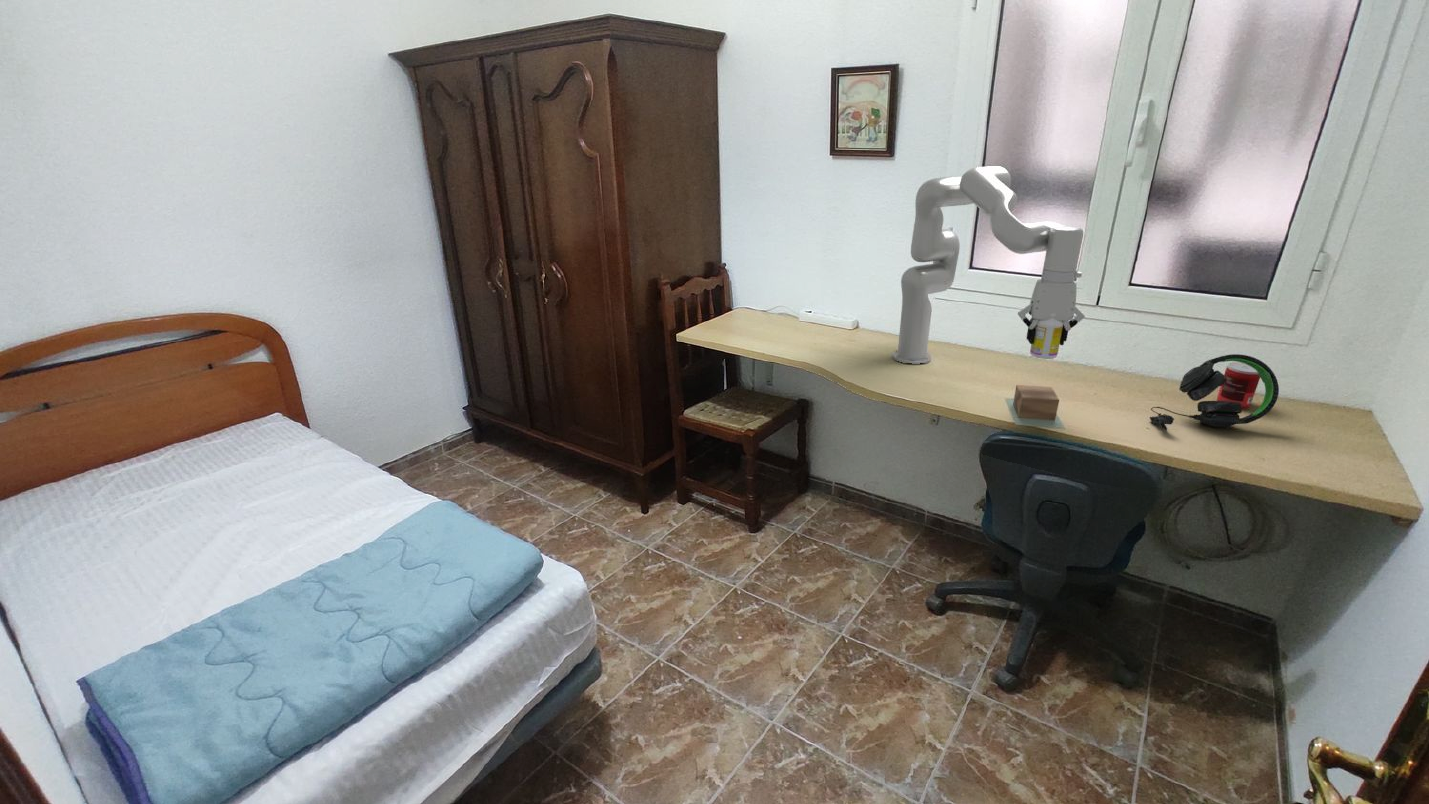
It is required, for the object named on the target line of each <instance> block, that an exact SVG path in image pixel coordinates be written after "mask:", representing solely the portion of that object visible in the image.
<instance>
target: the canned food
mask: <svg viewBox="0 0 1429 804" xmlns="http://www.w3.org/2000/svg"><path fill="white" fill-rule="evenodd" d="M1223 375H1224V376H1225V379H1226V382H1225V383H1224V384H1223V385H1222V386H1219V390H1218V393H1217V397H1216V401H1232V402H1239V403H1241V404H1242V410H1245V409H1249V408H1250V406H1251V405H1252V401H1253V399H1254V397H1255V393H1256V391H1257V389H1258V388H1257V387H1258V385H1259V382H1260V379H1261V378H1260V376H1259V374H1258V372H1257V371H1256V370H1255V369H1254V368H1252V367H1251V366H1249V365H1247V364H1244V363H1241V362H1237V361H1231V362H1229V363H1228V364H1227V365H1226V368H1225V371H1224V374H1223Z"/></svg>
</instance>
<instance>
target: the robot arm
mask: <svg viewBox="0 0 1429 804" xmlns="http://www.w3.org/2000/svg"><path fill="white" fill-rule="evenodd" d="M1011 183H1012V178H1011V175H1010V173H1009V171H1008V170H1007V169H1006V168H1004V167H1003V166H998V165H993V166H992V165H991V166H979V167H977V166H976V167H973V168H970V169H969V170H967V171H966V172H965V173H964V174H963V175H957V176H956V175H955V176H942V177H941V176H940V177H935V178H932V179H929V180H926V181H924V183H922V184H921V186H919V188H918V190H917V192H916V195H915V204H914V205H915V216H914V217H915V218H914V224H913V231H912V238H911V244H910V256H911V258H912V259H913V261H915V262H918V263H929V264H921V265H915V266H912V267H909V268H908V269H906V270H905V271H904V272H903V273H902V276H901V278H900V279H901V281H900V287H901V294H902V295H901V296H902V297H901V298H902V300H901V302H902V303H901V304H902V305H901V313H900V323H899V334H898V344H897V350H896V351H894V352H892V359H893V360H895V361H896V362H898V361H899V363H901V362H902V363H903V364H906V363H912V364H911V365H921V364H920V363H924V364H927V363H929V362H931V360H932V356H931V354H930V353H928V344H929V336H930V327H931V320H932V319H931V318H932V312H933V311H932V309H933V308H932V303H931V301H930V299H929V295H931V294H935V293H936V294H937V293H941V292H945V291H948V290H949V289H950V288H951V287H952V285H953V283H954V280H955V277H956V276H955V275H956V271H957V266H958V265H957V264H958V262H959V261H958V260H959V255H960V249H961V248H960V247H961V246H960V240H959V237H958V235H957V234H956V232H954V230H951V229H947V228H946V229H945V228H944V229H943V227H944V226H943V225H944V213H943V211H942V209H941V208H945V207H956V206H959V207H960V206H968V205H972V204H974V205H975V206H976V207H978V208H979V210H981V211H982V212H983V213H984V214H985V215H986V216H987V217H988V218H989V225H990V228H991V232H992V235H993V236H994V237H995V238H996V239H997V240H998V241H999V242H1000V243H1001V244H1002V245H1003V246H1004V247H1005V248H1006V249H1008V250H1009V251H1011V252H1012V253H1014V254H1018V255H1025V254H1033V253H1041V252H1045V256H1044V262H1043V267H1042V272H1041V278H1039V279H1037V280H1036V282H1035V286H1034V288H1033V291H1032V295H1031V298H1030V301H1029V304H1028V305H1027V306H1025V307H1023V309H1021V310H1019V311H1018V312H1017V315H1018V317H1019V318H1020V320H1022V322H1023V323H1024V324H1025V325H1026V326H1027V332H1026V340H1027V341H1028V343H1029V344H1030V345H1031V344H1033V343H1034V337H1035V332H1036V330H1035V326H1036V325H1037V323H1038V322H1039V320H1049V319H1051V318H1054V319H1055V320H1059V321H1063V329H1062V334H1061V339H1060V344H1059V346H1064V345H1065V342H1067V339H1068V333H1069V331H1070V330H1071V329H1072V328H1073V327H1075V326H1076V325H1078V323H1080V322H1081V321H1082V320H1084V319H1085V317H1086V316H1085V314H1084V313H1082V312H1081V311H1080V310H1079V308H1078V307H1076V304H1077V289H1078V288H1077V282H1076V279H1078V278H1079V279H1080V278H1081V277H1082V274H1083V273H1082V272H1081V271H1078V270H1077V269H1078V262H1079V258H1080V253H1081V248H1082V243H1083V239H1084V238H1083V237H1084V230H1083V228H1082V227H1078V226H1074V225H1063V224H1060V223H1058V222H1054V221H1050V220H1049V221H1048V220H1047V221H1046V220H1045V221H1039V222H1028V223H1024V222H1022V221H1020V219H1018V218H1017V217H1015V216H1014V215H1013V214H1012V211H1013V210H1014V208H1015V207H1016V205H1017V203H1018V196H1017V193H1016V192H1015V191H1013V190H1012V189H1010V188H1011ZM930 262H932V263H930ZM1052 313H1055V314H1056V316H1055V317H1051V316H1050V315H1051V314H1052ZM1027 314H1029V315H1030V316H1031V318H1030V319H1029V318H1028V317H1027ZM1074 315H1076V316H1075V317H1074Z"/></svg>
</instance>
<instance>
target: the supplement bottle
mask: <svg viewBox="0 0 1429 804" xmlns="http://www.w3.org/2000/svg"><path fill="white" fill-rule="evenodd" d="M1050 316H1051V317H1055V316H1056V314H1055V313H1052V314H1051V315H1050ZM1062 329H1063V321H1059V320H1055V319H1054V318H1051V319H1049V320H1039V322H1038V323H1037V325H1036V326H1035V330H1036V332H1035V337H1034V343H1033V344H1030V351H1029V353H1030V355H1031V356H1032V357H1035V358H1037V359H1041V360H1053V359H1055V358H1057V357H1058V354H1059V349H1060V339H1061V334H1062Z"/></svg>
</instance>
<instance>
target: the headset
mask: <svg viewBox="0 0 1429 804" xmlns="http://www.w3.org/2000/svg"><path fill="white" fill-rule="evenodd" d="M1225 362H1241V363H1244V364H1247V365H1249V366H1251V367H1252V368H1254V369H1255V370H1256V371H1257V372H1258V374H1259V376H1260V379H1261V381H1262V383H1263V384H1264V387H1265V389H1264V390H1265V393H1264V398H1263V400H1262V403H1261V405H1260V406H1259V407H1258V408H1257V409H1256V410H1254V411H1253V412H1252V413H1250V414H1249V415H1246V416H1244V417H1242V418H1240V415H1239V414H1242V413H1243V411H1242V410H1243V409H1242V404H1241V403H1239V402H1232V401H1217V400H1203V399H1204V398H1206V397H1207V396H1209V395H1210V394H1211V393H1213V392H1214V391H1216V389H1218V388H1220V387H1221V386H1222V385H1223V384H1224V383H1225V382H1226V379H1225V376H1224V374H1223V373H1222V372H1221V371H1220V370H1218V369H1217V370H1215V369H1214V365H1215V364H1217V363H1225ZM1279 387H1280V386H1279V383H1278V379H1277V377H1276V375H1275V373H1274V371H1273V370H1272V369H1271V367H1269V366H1268V365H1267V364H1266V363H1265V362H1263V361H1262V360H1260V359H1257V358H1256V357H1253V356H1250V355H1247V354H1238V353H1235V354H1234V353H1233V354H1231V353H1230V354H1227V355H1226V354H1225V355H1221V356H1217V357H1215V358H1212V359H1208V360H1206V361H1204V362H1203V363H1201V364H1200V365H1198V366H1194V367H1192V368H1191V369H1190V370H1189V371H1187V372H1186V373H1184V375H1183V377H1182V380H1181V382H1180V385H1179V388H1178V389H1179V391H1181V393H1185V394H1186V395H1187V396H1188V397H1189V399H1190V400H1192V401H1193V402H1197V401H1199V402H1197V404H1196V405H1197V407H1196V408H1197V412H1200V414H1193V415H1191V414H1190V415H1189V414H1183V413H1182V414H1181V413H1177V412H1174V411H1172V410H1170V409H1166V408H1164V407H1161V406H1153V407H1151V408H1150V411H1152V412H1153V413H1155V414H1157V415H1156V416H1150V417H1149V420H1150V421H1151V422H1152V424H1154V425H1160V428H1161V429H1163V430H1165V431H1167V430H1168V427H1167V425H1170V426H1171V425H1173V422H1174V420H1175V418H1174V417H1173V416H1172V415H1168V414H1166V413H1164V414H1162V413H1158V412H1156V411H1154V410H1153V409H1161V410H1165V412H1166V411H1167V412H1169V413H1172V414H1175V415H1178V416H1181V417H1187V418H1191V419H1193V420H1197V421H1199V422H1201V423H1202V424H1205V425H1207V426H1208V427H1212V428H1230V427H1232V426H1235V425H1245V424H1247V425H1248V424H1250V423H1252V422H1255V421H1257V420H1259V419H1261V418H1263V417H1264V416H1266V415H1267V414H1268V413H1269V412H1271V410H1272V409H1274V406H1275V404H1276V403H1277V401H1278V397H1279V395H1280V394H1279V392H1280V388H1279ZM1200 400H1202V401H1200Z"/></svg>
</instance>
